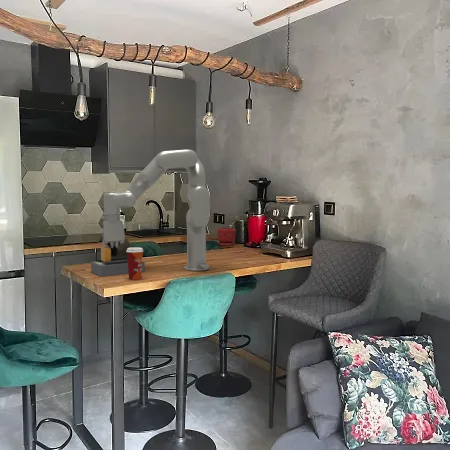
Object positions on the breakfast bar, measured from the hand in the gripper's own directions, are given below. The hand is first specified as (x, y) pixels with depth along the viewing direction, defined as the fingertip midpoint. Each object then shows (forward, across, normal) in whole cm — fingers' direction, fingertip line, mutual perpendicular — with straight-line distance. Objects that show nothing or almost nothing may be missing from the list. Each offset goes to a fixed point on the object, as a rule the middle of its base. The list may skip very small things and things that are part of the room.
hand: (113, 255), depth 224 cm
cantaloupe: (+8, +10, +18) cm, 22 cm away
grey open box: (+8, +2, 0) cm, 9 cm away
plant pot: (+10, +106, +54) cm, 119 cm away
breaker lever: (+4, -4, 0) cm, 6 cm away
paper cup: (+9, +2, -20) cm, 22 cm away
